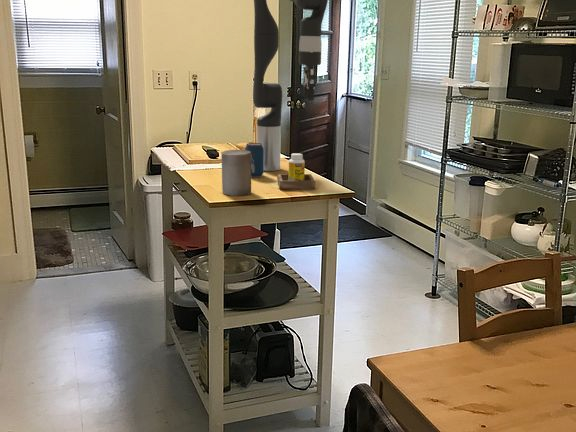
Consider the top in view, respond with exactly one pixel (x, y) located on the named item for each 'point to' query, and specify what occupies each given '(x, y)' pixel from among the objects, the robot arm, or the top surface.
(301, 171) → the supplement bottle
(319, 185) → the top surface
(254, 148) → the soda can
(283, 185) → the caddy
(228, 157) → the pillar candle
